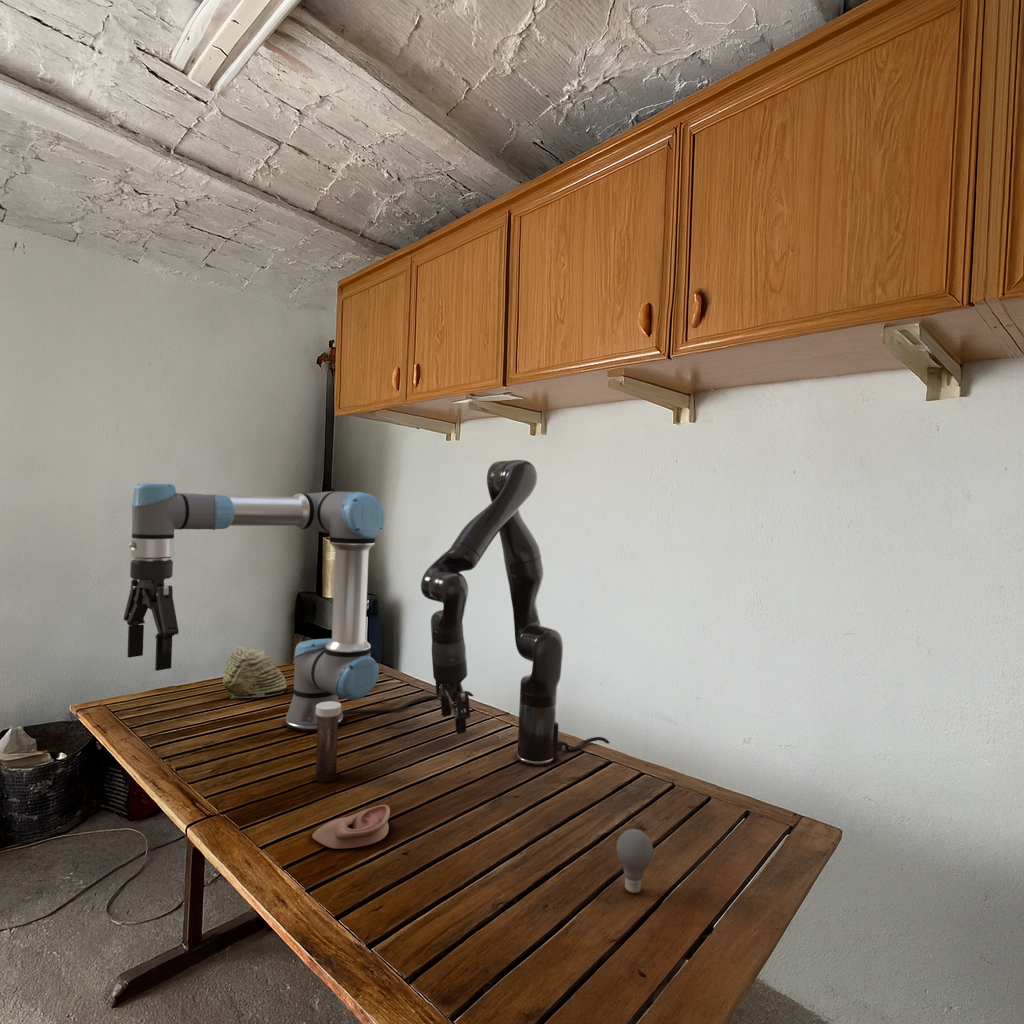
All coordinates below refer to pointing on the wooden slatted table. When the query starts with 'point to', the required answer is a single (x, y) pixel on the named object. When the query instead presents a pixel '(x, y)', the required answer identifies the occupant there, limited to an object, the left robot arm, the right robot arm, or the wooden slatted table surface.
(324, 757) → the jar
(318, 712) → the lid
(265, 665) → the fossil
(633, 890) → the light bulb
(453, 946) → the wooden slatted table surface
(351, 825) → the anatomical model
